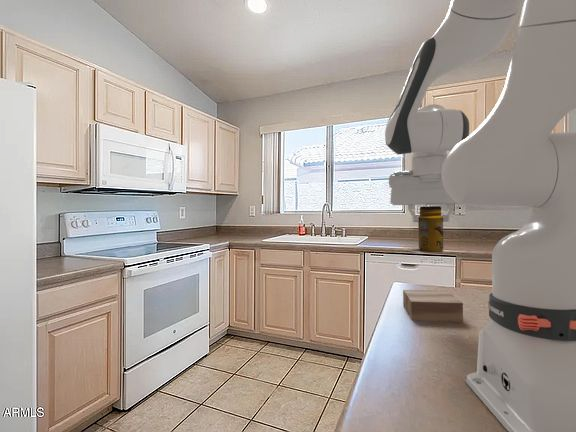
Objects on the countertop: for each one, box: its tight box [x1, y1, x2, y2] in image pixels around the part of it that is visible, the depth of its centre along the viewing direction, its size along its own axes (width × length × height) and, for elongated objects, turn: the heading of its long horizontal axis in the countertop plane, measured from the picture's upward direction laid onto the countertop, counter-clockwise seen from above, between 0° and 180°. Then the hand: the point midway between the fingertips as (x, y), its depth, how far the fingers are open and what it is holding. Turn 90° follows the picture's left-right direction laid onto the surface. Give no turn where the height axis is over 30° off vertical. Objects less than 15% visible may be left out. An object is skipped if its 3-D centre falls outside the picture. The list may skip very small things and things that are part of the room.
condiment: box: [406, 205, 451, 254], centre depth 87 cm, size 7×8×12 cm
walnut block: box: [402, 289, 464, 323], centre depth 87 cm, size 12×12×5 cm
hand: (430, 221), depth 86 cm, fingers closed on condiment, 6 cm apart
